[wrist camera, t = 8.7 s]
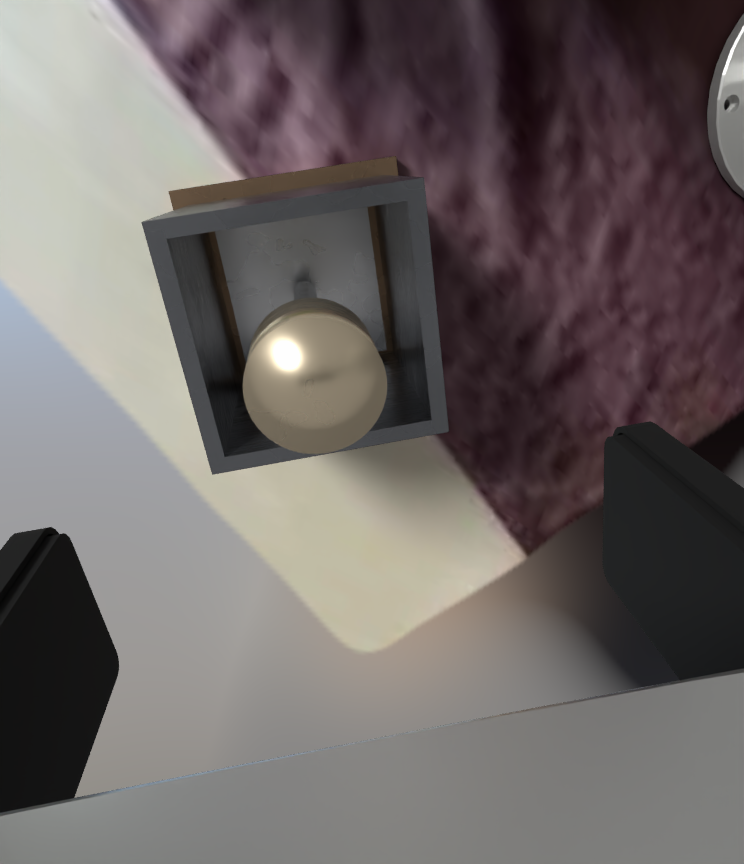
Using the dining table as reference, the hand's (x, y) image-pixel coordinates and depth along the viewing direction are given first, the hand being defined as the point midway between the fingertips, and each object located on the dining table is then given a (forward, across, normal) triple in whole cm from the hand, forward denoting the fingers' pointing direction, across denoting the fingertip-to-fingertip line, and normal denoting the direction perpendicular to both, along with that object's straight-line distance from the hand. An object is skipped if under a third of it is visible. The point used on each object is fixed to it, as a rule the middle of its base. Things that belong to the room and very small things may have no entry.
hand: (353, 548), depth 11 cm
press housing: (+27, +1, 0) cm, 27 cm away
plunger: (+26, +1, 0) cm, 26 cm away
